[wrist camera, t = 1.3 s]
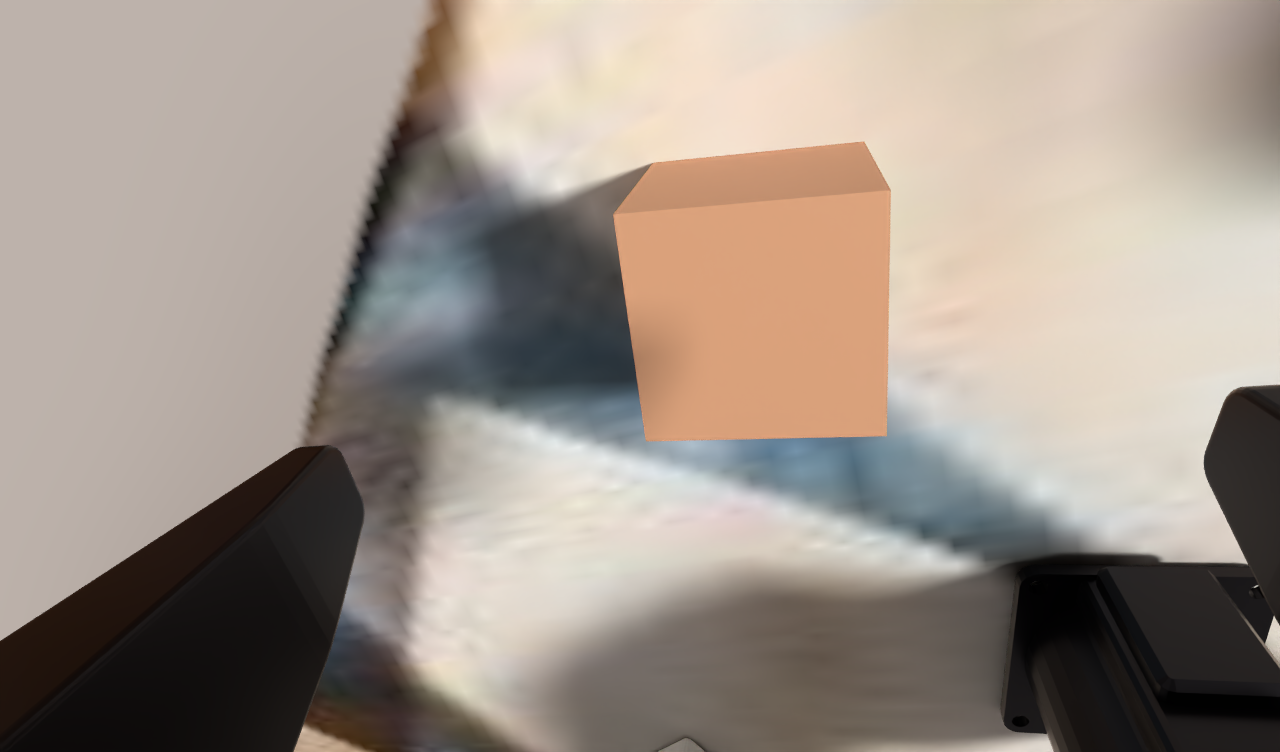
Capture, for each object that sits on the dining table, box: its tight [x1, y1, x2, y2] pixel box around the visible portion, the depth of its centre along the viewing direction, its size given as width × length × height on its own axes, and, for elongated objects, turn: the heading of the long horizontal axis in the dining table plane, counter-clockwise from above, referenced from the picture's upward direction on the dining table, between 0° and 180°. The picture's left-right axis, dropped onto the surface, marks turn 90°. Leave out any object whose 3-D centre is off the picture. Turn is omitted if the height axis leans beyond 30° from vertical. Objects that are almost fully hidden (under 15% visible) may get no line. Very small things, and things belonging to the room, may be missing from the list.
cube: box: [613, 142, 891, 441], centre depth 17 cm, size 5×5×5 cm
